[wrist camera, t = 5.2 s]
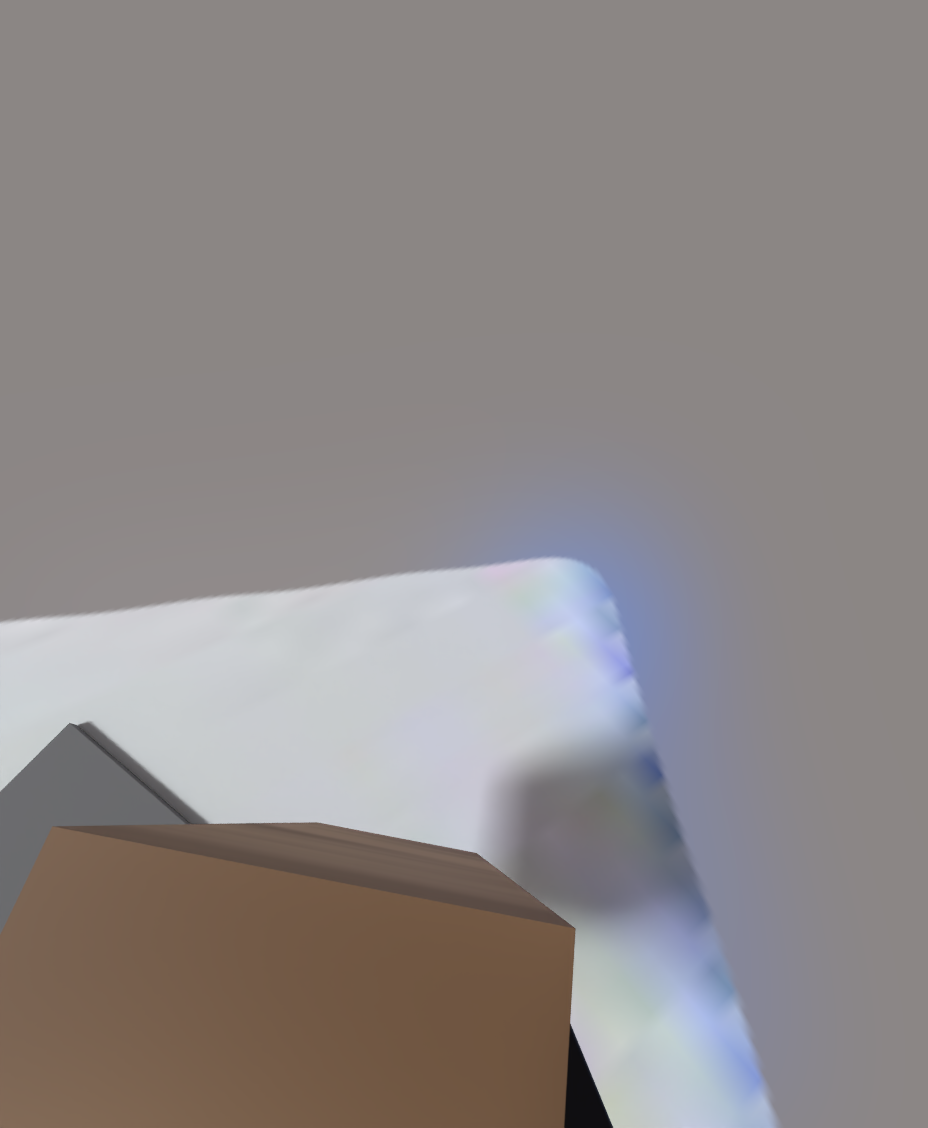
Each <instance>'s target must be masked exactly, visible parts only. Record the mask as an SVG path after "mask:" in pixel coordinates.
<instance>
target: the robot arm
mask: <svg viewBox="0 0 928 1128" xmlns="http://www.w3.org/2000/svg"><path fill="white" fill-rule="evenodd" d="M564 1128H613V1126H612V1124H611V1121H610V1119H609V1116H608V1114H607V1111H606V1109H605V1107H604V1104H603V1102H602V1099H601V1097H600V1094H599V1092H598V1090H597V1087H596V1085H595V1082H594V1080H593V1078H592V1075H591V1073H590V1070H589V1068H588V1065H587V1063H586V1061H585V1058H584V1056H583V1053H582V1051H581V1048H580V1046H579V1044H578V1041H577V1039H576V1036H575V1034H574V1031H573V1029H572V1027H571V1024H570V1032H569V1049H568V1067H567V1085H566V1102H565V1120H564Z"/></svg>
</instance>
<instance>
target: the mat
mask: <svg viewBox="0 0 928 1128" xmlns="http://www.w3.org/2000/svg"><path fill="white" fill-rule="evenodd" d="M177 824H190V823H189V822H188V821H187V820H185V819H184V818H183V817H182V816H181V815H180V814H179V813H177V812H176V811H175V810H174V809H173V808H172V807H170V806H169V805H168V804H167V803H166V802H165V801H163V800H162V799H161V798H160V797H159V796H158V795H157V794H155V793H154V792H153V791H152V790H151V789H150V788H148V787H147V786H146V785H145V784H144V783H143V782H142V781H140V780H139V779H138V778H137V777H136V776H135V775H133V774H132V773H131V772H130V771H129V770H128V769H126V768H125V767H124V766H123V765H122V764H121V763H120V762H118V761H117V760H116V759H115V758H114V757H113V756H111V755H110V754H109V753H108V752H107V751H106V750H105V749H103V748H102V747H101V746H100V745H99V744H98V743H96V742H95V741H94V740H93V739H92V738H91V737H89V736H88V735H87V734H86V733H85V732H84V731H83V730H81V729H80V728H79V727H78V726H77V725H75V724H71V723H69V724H68V725H67V726H66V727H65V728H64V729H63V730H62V731H61V732H60V733H59V734H58V735H57V736H56V737H55V738H54V739H53V740H52V741H51V742H50V743H49V744H48V745H47V746H46V747H45V748H44V749H43V750H42V751H41V752H40V753H39V754H38V755H37V756H36V757H35V758H34V759H33V760H32V761H31V762H30V763H29V764H28V765H27V766H26V767H25V768H24V769H23V770H22V771H21V772H20V773H19V774H18V775H17V776H16V777H15V778H14V779H13V780H12V781H11V782H10V783H9V784H8V785H7V786H6V787H5V788H4V789H3V790H2V791H1V792H0V934H1V932H2V930H3V928H4V926H5V924H6V922H7V920H8V917H9V915H10V913H11V911H12V909H13V907H14V905H15V903H16V901H17V899H18V897H19V895H20V892H21V890H22V888H23V886H24V884H25V882H26V880H27V878H28V876H29V874H30V872H31V870H32V867H33V865H34V863H35V861H36V859H37V857H38V855H39V853H40V851H41V849H42V847H43V845H44V843H45V840H46V838H47V836H48V834H49V832H50V830H51V828H52V826H109V825H177Z"/></svg>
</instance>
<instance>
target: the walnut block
mask: <svg viewBox="0 0 928 1128" xmlns="http://www.w3.org/2000/svg"><path fill="white" fill-rule="evenodd" d="M574 944H575V928H574V927H573V926H571V925H570V924H569V923H568V922H566V921H565V920H564V919H562V918H561V917H560V916H558V915H557V914H556V913H554V912H553V911H552V910H550V909H549V908H548V907H546V906H545V905H544V904H543V903H541V902H540V901H539V900H537V899H536V898H535V897H533V896H532V895H531V894H529V893H528V892H527V891H525V890H524V889H523V888H522V887H520V886H519V885H518V884H516V883H515V882H514V881H512V880H511V879H510V878H508V877H507V876H506V875H504V874H503V873H502V872H501V871H499V870H498V869H497V868H495V867H494V866H493V865H491V864H490V863H489V862H487V861H486V860H485V859H483V858H482V857H481V856H480V855H478V854H477V853H473V852H468V851H463V850H458V849H452V848H447V847H442V846H437V845H432V844H426V843H421V842H416V841H411V840H406V839H400V838H395V837H390V836H385V835H380V834H374V833H369V832H364V831H359V830H354V829H348V828H343V827H338V826H333V825H327V824H322V823H317V822H315V823H246V824H177V825H109V826H52V828H51V830H50V832H49V834H48V836H47V838H46V840H45V843H44V845H43V847H42V849H41V851H40V853H39V855H38V857H37V859H36V861H35V863H34V865H33V867H32V870H31V872H30V874H29V876H28V878H27V880H26V882H25V884H24V886H23V888H22V890H21V892H20V895H19V897H18V899H17V901H16V903H15V905H14V907H13V909H12V911H11V913H10V915H9V917H8V920H7V922H6V924H5V926H4V928H3V930H2V932H1V934H0V1128H564V1120H565V1102H566V1085H567V1067H568V1049H569V1032H570V1014H571V997H572V979H573V961H574Z"/></svg>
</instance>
